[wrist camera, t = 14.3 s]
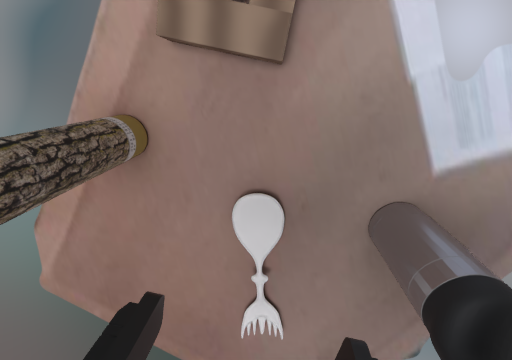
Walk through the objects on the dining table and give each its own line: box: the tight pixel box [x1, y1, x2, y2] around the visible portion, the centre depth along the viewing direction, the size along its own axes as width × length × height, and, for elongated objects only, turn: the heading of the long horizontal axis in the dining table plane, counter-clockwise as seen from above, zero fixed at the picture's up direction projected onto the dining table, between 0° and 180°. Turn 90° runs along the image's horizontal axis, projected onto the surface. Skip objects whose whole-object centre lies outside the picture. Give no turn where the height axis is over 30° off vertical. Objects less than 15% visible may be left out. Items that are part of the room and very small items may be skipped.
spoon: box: [232, 193, 284, 339], centre depth 47 cm, size 9×32×4 cm, turn 2°
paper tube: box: [0, 115, 147, 225], centre depth 30 cm, size 7×7×25 cm
